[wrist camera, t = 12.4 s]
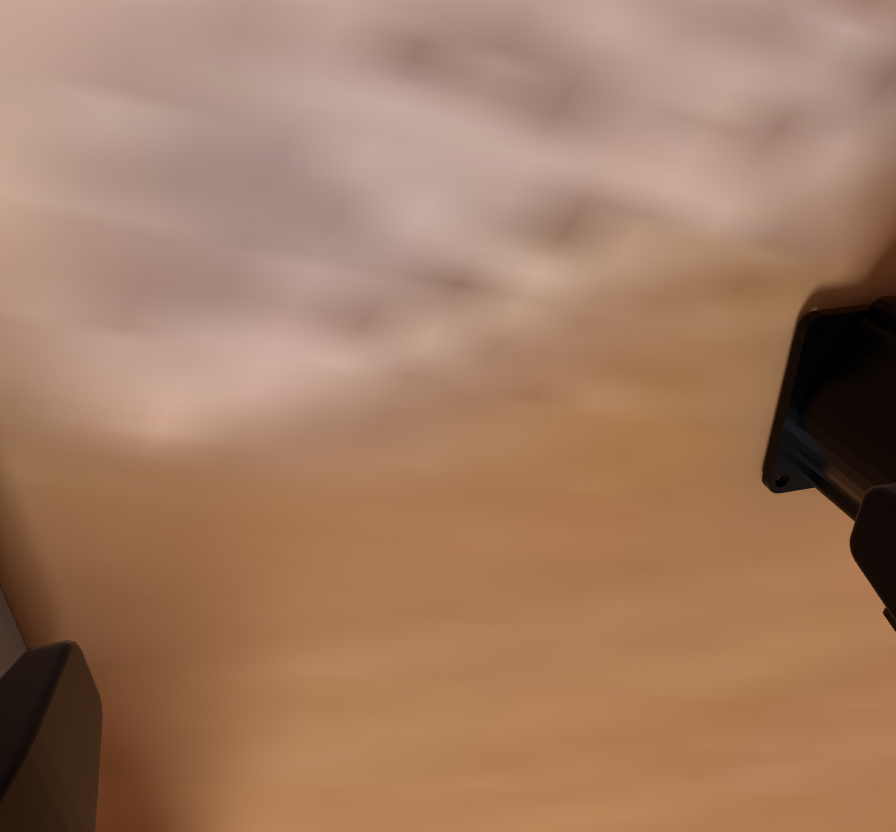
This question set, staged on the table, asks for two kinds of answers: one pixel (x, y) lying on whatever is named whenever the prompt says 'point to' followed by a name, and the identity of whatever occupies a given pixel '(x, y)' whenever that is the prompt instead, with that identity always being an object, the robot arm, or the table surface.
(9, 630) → the box
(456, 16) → the table surface
